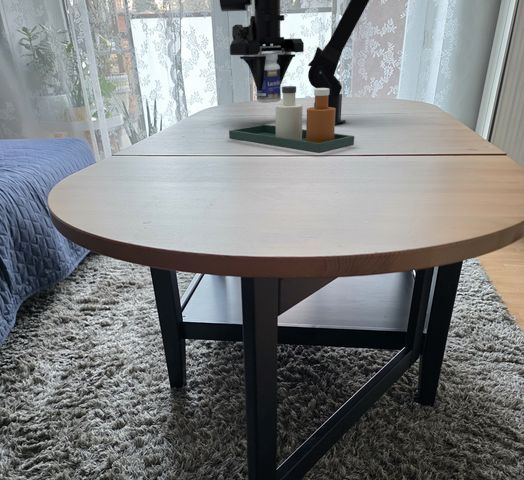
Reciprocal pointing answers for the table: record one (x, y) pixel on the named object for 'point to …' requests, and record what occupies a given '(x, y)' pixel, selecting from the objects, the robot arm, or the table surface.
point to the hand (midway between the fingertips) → (268, 89)
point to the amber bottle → (320, 118)
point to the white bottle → (289, 115)
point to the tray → (268, 137)
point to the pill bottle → (270, 80)
